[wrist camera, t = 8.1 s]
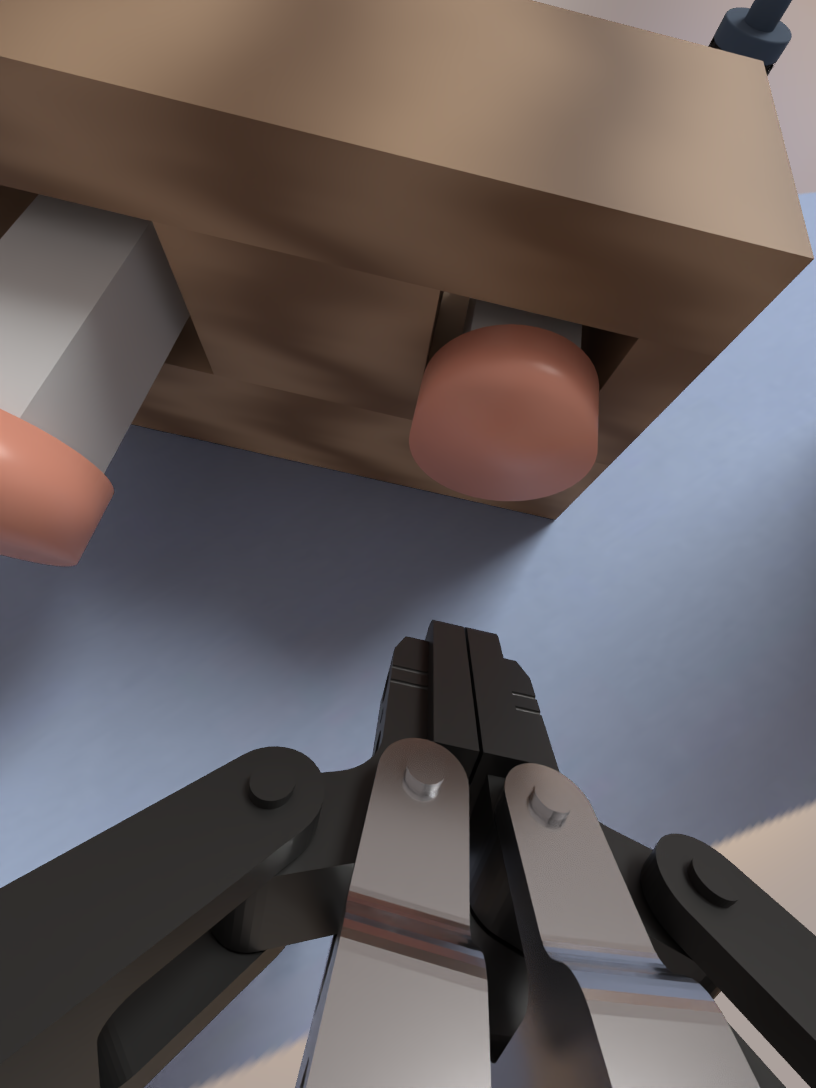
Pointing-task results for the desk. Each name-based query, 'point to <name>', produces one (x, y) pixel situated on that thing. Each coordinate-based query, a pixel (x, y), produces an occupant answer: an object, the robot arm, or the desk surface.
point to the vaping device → (755, 31)
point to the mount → (404, 200)
